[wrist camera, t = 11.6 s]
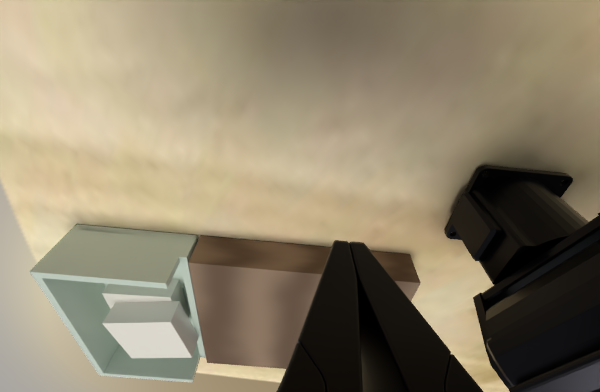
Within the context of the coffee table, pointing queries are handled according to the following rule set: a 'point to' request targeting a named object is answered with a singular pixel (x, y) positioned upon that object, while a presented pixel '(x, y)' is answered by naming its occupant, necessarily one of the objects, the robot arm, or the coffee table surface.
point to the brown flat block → (264, 295)
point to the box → (122, 271)
